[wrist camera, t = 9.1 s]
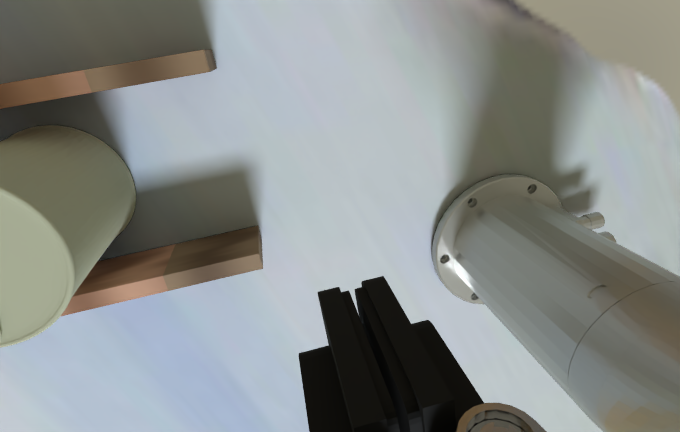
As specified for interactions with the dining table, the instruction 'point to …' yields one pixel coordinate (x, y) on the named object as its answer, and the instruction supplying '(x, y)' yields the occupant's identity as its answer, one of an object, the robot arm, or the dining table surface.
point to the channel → (160, 263)
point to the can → (54, 221)
